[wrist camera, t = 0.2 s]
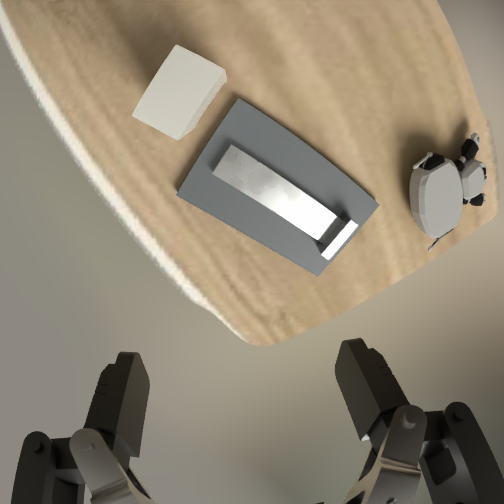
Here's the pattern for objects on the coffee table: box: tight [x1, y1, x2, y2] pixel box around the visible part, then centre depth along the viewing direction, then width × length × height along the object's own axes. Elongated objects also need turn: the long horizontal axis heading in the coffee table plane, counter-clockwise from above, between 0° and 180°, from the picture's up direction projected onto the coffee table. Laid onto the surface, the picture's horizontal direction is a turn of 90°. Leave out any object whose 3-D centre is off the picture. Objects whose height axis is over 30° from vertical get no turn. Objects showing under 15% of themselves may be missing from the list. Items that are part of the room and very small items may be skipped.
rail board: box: [176, 98, 379, 276], centre depth 30 cm, size 12×20×1 cm, turn 56°
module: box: [132, 44, 227, 141], centre depth 20 cm, size 6×4×9 cm
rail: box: [212, 143, 358, 260], centre depth 29 cm, size 5×16×2 cm, turn 56°
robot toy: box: [410, 133, 487, 251], centre depth 29 cm, size 12×4×15 cm
